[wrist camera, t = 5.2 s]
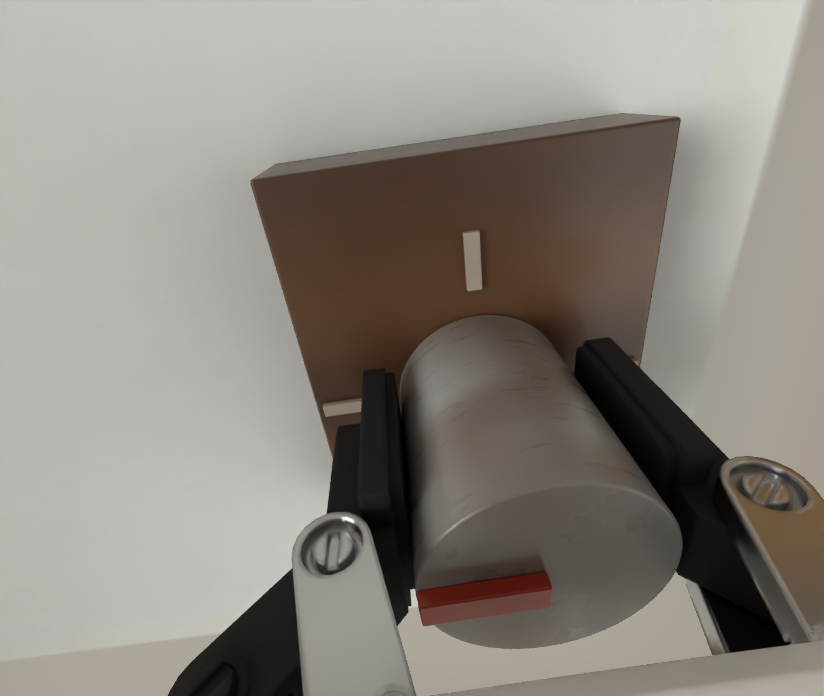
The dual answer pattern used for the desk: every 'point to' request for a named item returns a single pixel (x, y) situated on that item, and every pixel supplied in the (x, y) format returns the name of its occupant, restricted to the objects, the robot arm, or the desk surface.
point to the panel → (467, 243)
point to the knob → (522, 494)
